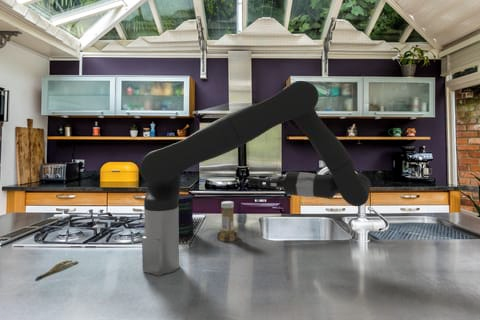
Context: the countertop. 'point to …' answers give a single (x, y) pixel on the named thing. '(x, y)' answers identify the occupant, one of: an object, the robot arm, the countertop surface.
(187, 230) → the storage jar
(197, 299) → the countertop surface
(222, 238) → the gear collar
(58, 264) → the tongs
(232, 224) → the sprinkles bottle
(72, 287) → the countertop surface
